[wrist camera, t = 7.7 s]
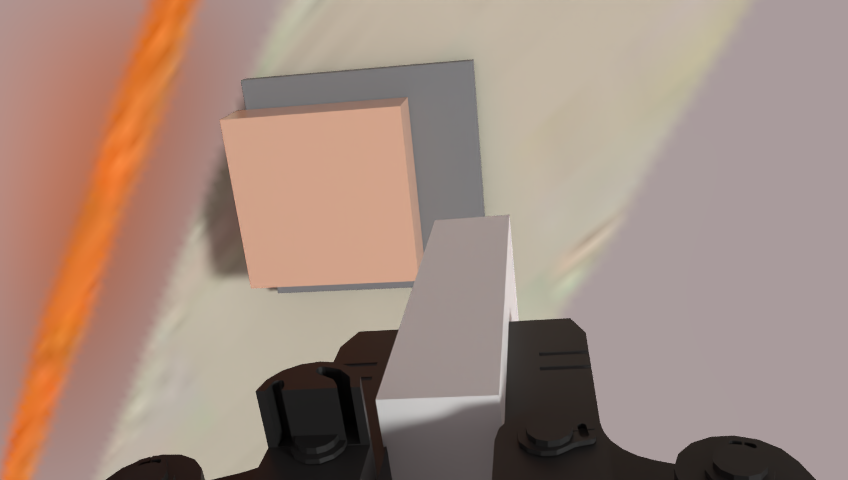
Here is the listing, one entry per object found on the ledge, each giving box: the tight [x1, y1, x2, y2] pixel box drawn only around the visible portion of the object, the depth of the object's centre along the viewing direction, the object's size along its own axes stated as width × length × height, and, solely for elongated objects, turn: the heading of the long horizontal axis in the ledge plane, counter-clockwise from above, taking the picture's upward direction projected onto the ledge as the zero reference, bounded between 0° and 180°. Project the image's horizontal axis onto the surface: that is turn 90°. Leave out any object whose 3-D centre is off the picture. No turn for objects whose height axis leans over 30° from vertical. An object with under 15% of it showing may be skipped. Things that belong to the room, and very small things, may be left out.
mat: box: [241, 60, 485, 293], centre depth 40 cm, size 12×12×1 cm
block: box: [220, 97, 424, 288], centre depth 39 cm, size 3×9×9 cm
